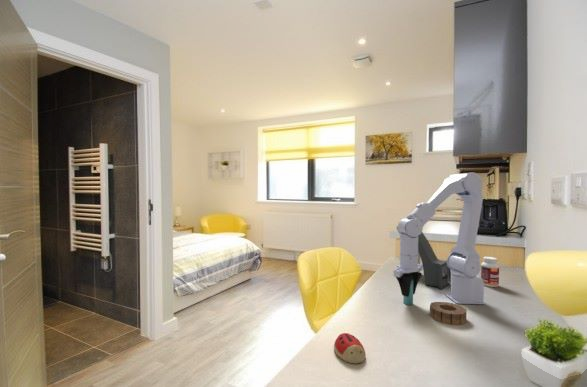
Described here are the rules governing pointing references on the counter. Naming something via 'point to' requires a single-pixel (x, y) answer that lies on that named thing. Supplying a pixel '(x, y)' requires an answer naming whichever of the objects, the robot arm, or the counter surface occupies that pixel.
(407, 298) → the capsule peg
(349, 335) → the ladybug figurine
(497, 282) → the pill bottle
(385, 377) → the counter surface
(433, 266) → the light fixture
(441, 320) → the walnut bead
